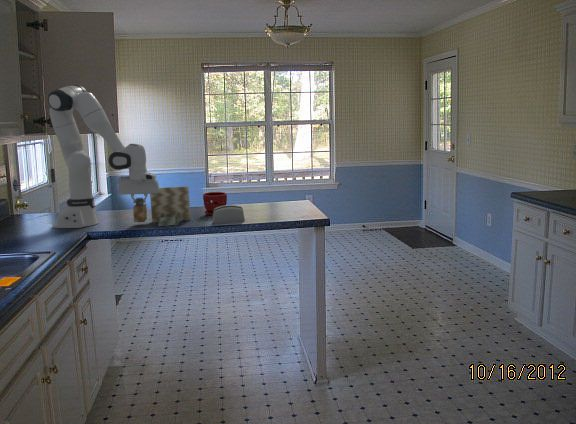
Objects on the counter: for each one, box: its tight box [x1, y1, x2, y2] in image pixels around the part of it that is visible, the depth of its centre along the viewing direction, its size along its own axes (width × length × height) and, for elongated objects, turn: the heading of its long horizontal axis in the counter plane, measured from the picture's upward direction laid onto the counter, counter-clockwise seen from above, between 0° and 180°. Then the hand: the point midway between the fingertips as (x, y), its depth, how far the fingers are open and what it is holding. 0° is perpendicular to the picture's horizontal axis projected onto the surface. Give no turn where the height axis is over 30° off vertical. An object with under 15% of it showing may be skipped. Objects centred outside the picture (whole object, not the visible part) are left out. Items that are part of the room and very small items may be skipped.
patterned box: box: [149, 185, 192, 227], centre depth 287 cm, size 20×16×18 cm
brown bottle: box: [132, 197, 148, 223], centre depth 285 cm, size 5×10×12 cm, turn 6°
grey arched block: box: [211, 204, 246, 224], centre depth 286 cm, size 17×5×10 cm, turn 102°
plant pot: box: [202, 191, 228, 217], centre depth 308 cm, size 13×13×12 cm
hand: (139, 202), depth 284 cm, fingers closed on brown bottle, 3 cm apart
